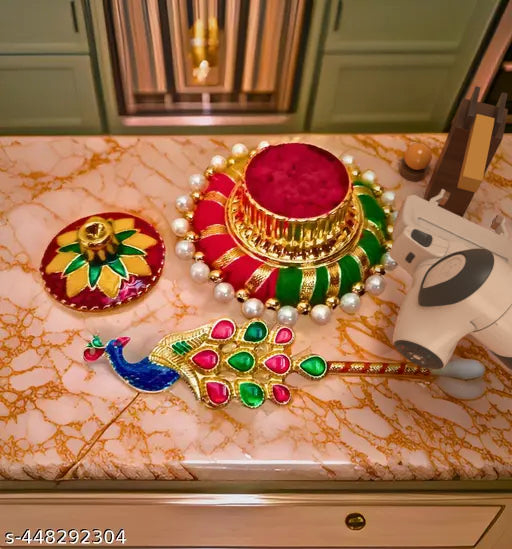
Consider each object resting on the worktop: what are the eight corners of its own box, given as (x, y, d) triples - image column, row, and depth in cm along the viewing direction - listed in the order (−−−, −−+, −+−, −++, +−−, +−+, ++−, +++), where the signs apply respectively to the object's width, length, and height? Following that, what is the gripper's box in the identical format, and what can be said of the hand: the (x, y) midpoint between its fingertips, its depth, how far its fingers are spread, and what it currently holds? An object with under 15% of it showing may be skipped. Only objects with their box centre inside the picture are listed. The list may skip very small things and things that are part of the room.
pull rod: (476, 193, 90) (482, 180, 88) (457, 187, 91) (462, 175, 89) (488, 130, 98) (495, 118, 96) (471, 126, 99) (476, 113, 96)
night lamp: (416, 158, 128) (425, 133, 122) (432, 176, 125) (441, 152, 119) (393, 166, 126) (401, 141, 120) (408, 184, 124) (417, 160, 117)
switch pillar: (457, 226, 118) (509, 125, 95) (419, 215, 119) (461, 113, 96) (464, 198, 122) (514, 95, 99) (426, 188, 123) (468, 84, 101)
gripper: (527, 291, 81) (545, 223, 88) (393, 227, 83) (421, 165, 90) (504, 311, 86) (522, 245, 93) (379, 250, 88) (406, 191, 95)
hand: (472, 205), depth 92 cm, fingers open, 8 cm apart
